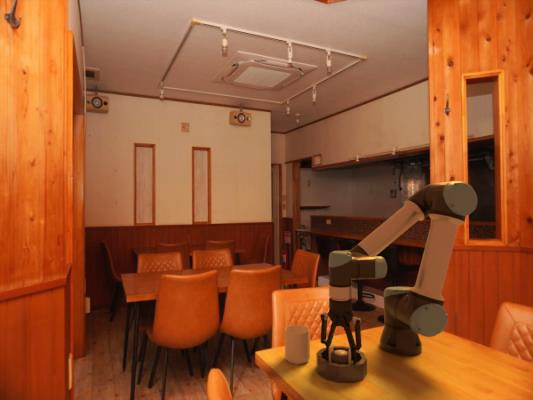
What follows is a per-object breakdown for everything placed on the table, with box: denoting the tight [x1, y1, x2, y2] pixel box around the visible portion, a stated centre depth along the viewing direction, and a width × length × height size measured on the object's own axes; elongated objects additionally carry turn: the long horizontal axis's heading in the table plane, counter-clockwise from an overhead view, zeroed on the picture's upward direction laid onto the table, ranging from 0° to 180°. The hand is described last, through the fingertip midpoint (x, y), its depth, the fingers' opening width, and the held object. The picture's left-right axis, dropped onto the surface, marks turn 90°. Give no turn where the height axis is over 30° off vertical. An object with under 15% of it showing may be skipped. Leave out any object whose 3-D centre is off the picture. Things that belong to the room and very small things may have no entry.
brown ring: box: [315, 345, 368, 384], centre depth 121 cm, size 16×16×5 cm
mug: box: [284, 324, 311, 365], centre depth 132 cm, size 12×9×11 cm
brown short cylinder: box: [332, 350, 348, 365], centre depth 121 cm, size 6×6×5 cm
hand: (340, 367), depth 121 cm, fingers closed on brown short cylinder, 6 cm apart
